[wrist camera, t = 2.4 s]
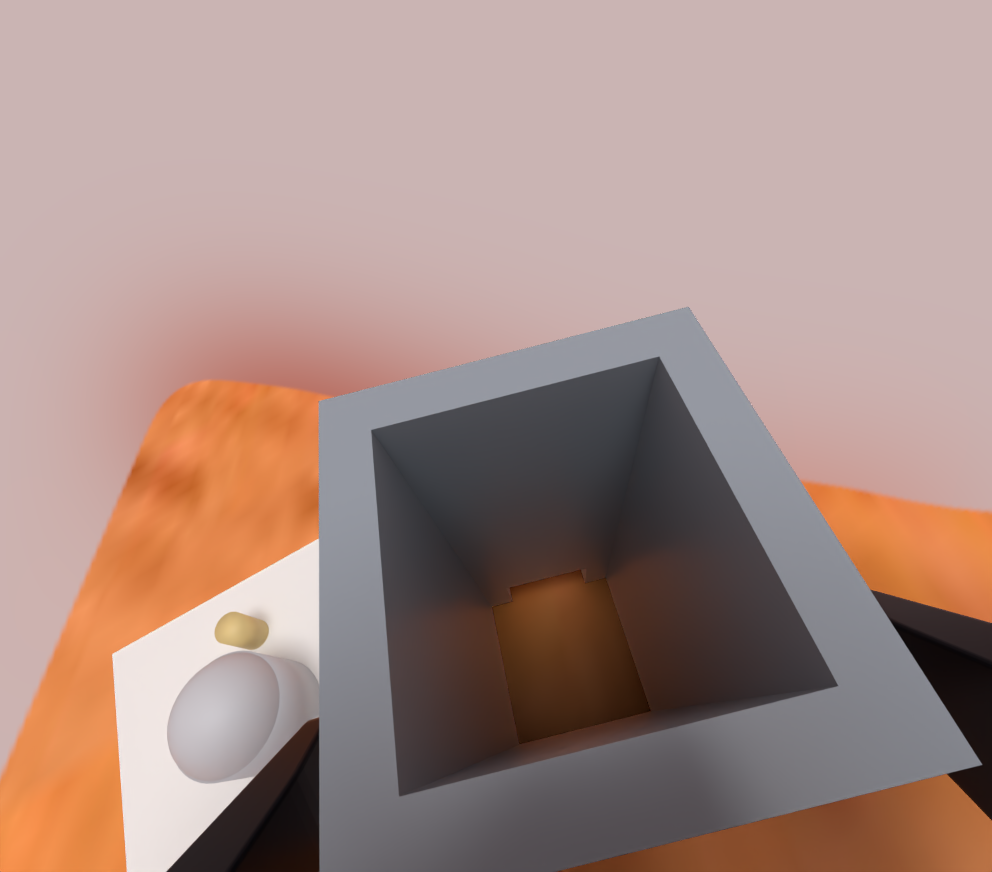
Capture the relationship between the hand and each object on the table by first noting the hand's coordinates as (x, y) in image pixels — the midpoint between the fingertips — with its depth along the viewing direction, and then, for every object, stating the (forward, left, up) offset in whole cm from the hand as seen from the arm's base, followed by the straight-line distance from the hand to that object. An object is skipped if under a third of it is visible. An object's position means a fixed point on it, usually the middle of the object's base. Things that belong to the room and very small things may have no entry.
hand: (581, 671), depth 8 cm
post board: (-1, +9, -9) cm, 13 cm away
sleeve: (+1, 0, -9) cm, 9 cm away
